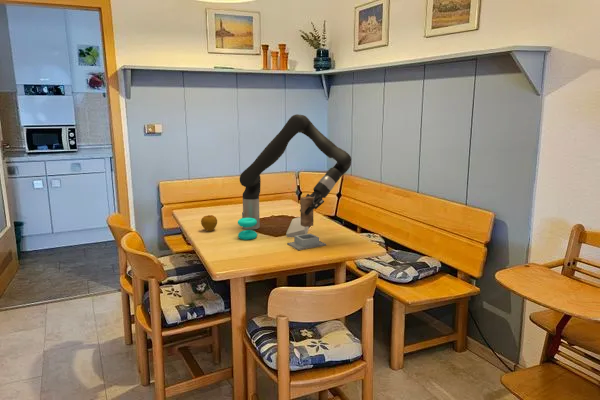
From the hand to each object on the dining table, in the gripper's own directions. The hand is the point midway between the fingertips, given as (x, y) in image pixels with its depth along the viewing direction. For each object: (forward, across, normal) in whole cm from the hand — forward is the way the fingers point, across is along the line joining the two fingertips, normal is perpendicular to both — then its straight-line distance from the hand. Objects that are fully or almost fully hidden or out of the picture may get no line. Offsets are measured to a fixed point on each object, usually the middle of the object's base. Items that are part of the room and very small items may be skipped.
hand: (303, 212), depth 224 cm
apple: (+34, -50, -11) cm, 62 cm away
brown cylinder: (+3, 0, +6) cm, 7 cm away
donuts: (+25, -27, -1) cm, 37 cm away
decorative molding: (+3, -29, +22) cm, 36 cm away
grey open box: (+10, 0, +13) cm, 17 cm away
